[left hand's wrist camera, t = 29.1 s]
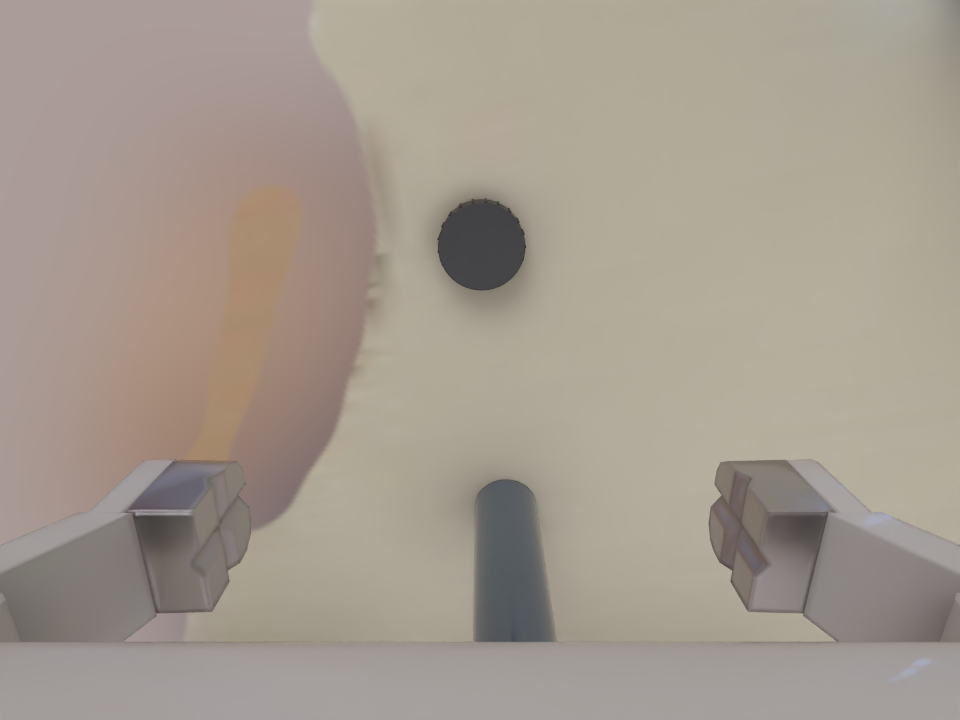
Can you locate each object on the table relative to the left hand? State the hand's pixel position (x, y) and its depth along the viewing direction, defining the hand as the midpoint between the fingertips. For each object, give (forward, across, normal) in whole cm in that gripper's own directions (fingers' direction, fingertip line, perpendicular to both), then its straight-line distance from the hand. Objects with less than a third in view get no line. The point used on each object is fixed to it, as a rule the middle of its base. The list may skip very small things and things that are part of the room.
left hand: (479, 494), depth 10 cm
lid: (+26, 0, 0) cm, 26 cm away
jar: (+28, -2, +19) cm, 34 cm away
